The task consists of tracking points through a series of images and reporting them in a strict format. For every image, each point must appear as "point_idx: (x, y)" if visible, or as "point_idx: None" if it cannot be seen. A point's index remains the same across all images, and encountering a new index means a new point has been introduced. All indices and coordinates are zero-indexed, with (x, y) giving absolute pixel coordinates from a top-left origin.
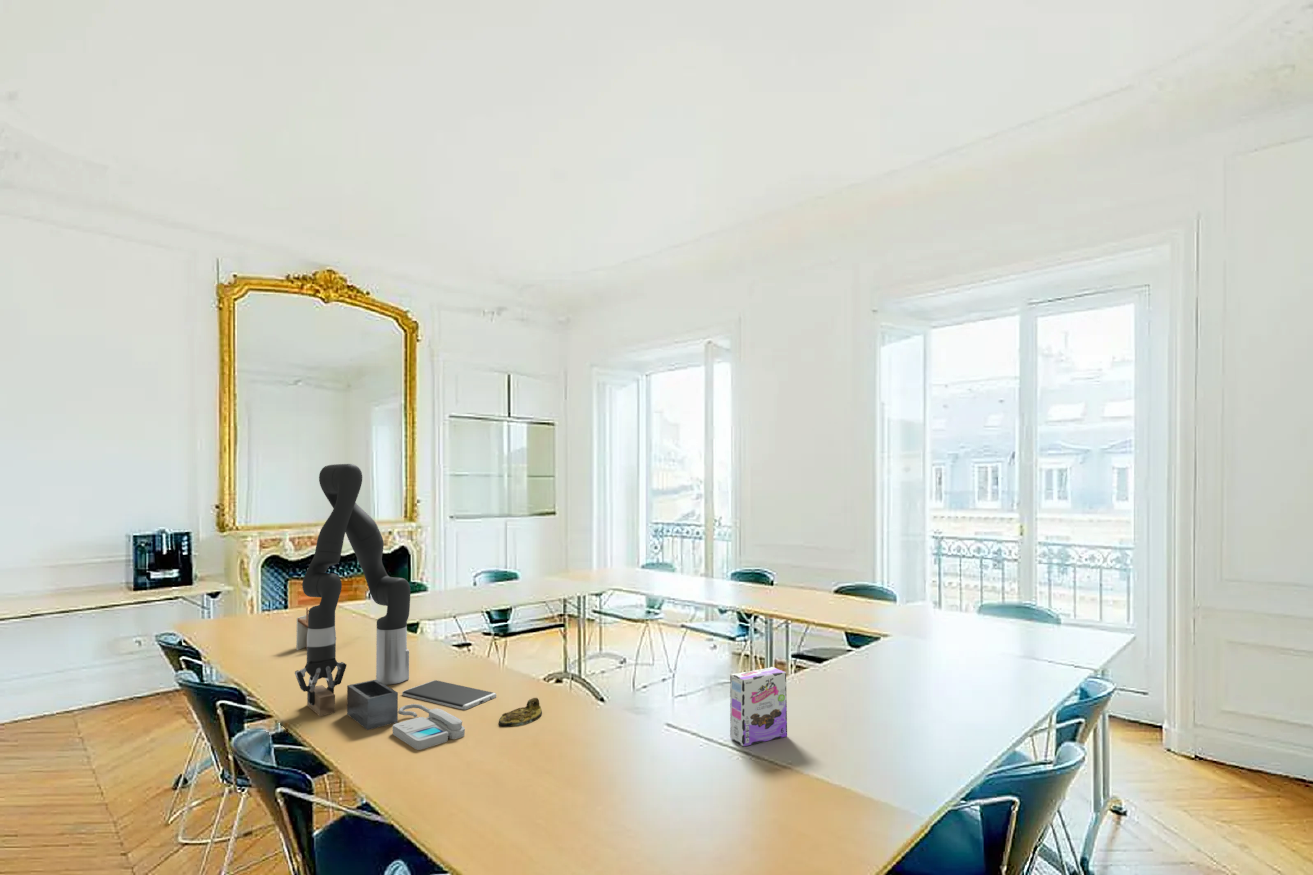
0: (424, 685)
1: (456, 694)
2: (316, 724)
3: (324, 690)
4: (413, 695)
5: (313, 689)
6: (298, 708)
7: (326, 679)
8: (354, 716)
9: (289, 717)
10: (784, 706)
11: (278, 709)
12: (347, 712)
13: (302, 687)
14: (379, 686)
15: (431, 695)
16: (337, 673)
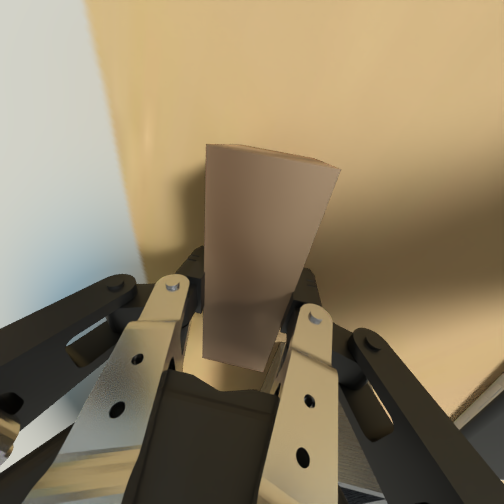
0: None
1: None
2: (196, 334)
3: (264, 304)
4: (496, 396)
5: (184, 327)
6: (193, 158)
7: (284, 364)
8: (267, 381)
9: (145, 238)
10: None
11: (104, 71)
12: (279, 350)
13: (100, 337)
14: (351, 493)
15: (492, 430)
16: (400, 444)
